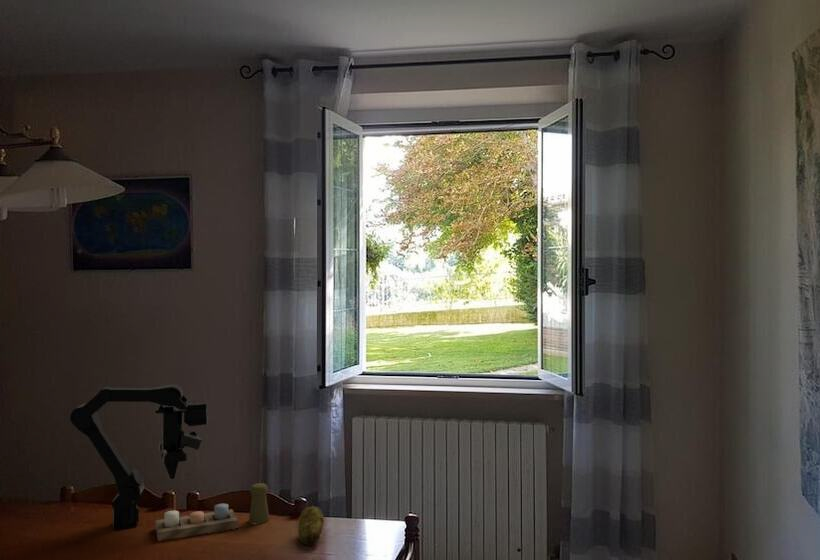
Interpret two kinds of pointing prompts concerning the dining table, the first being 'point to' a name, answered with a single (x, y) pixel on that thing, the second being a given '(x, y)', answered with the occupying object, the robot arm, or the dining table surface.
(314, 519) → the potato
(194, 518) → the peach short cylinder
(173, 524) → the cream button
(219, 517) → the pale blue cylinder
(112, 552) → the dining table surface
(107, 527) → the dining table surface
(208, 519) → the button board
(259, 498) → the green shaker
